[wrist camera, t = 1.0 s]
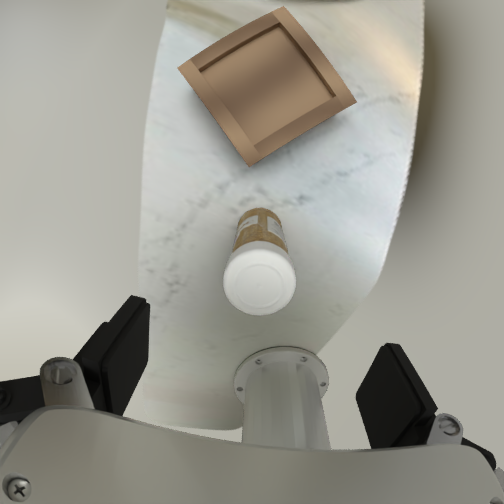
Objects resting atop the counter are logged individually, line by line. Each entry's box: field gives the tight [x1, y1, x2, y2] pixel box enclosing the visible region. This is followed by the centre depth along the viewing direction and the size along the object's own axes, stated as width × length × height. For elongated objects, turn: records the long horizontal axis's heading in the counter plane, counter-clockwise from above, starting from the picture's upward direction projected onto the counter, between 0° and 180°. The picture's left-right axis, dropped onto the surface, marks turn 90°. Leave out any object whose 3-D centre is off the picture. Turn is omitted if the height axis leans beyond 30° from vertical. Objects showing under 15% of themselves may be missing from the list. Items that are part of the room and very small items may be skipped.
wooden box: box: [178, 6, 357, 167], centre depth 23 cm, size 10×10×7 cm
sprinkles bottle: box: [223, 208, 296, 316], centre depth 24 cm, size 5×5×14 cm
